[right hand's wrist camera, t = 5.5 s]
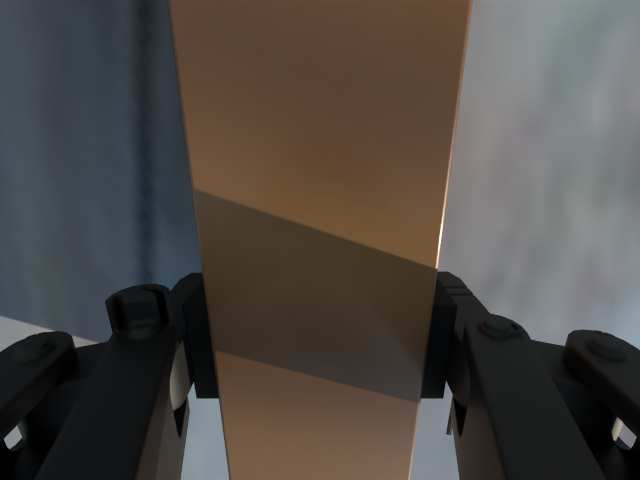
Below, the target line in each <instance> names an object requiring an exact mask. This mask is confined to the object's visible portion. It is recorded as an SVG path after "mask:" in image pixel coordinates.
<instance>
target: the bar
mask: <svg viewBox="0 0 640 480" xmlns="http://www.w3.org/2000/svg"><path fill="white" fill-rule="evenodd" d="M472 2H473V0H167V5H168V12H169V20H170V28H171V35H172V43H173V51H174V58H175V66H176V74H177V81H178V89H179V97H180V104H181V112H182V120H183V127H184V135H185V143H186V150H187V158H188V166H189V173H190V181H191V189H192V196H193V204H194V212H195V219H196V227H197V235H198V242H199V250H200V258H201V265H202V273H203V280H204V288H205V296H206V303H207V311H208V319H209V326H210V334H211V342H212V349H213V357H214V365H215V372H216V380H217V388H218V395H219V403H220V411H221V418H222V426H223V434H224V441H225V449H226V457H227V464H228V472H229V480H410V477H411V469H412V461H413V454H414V446H415V438H416V431H417V423H418V416H419V408H420V400H421V393H422V385H423V377H424V370H425V362H426V354H427V347H428V339H429V331H430V324H431V316H432V308H433V301H434V293H435V285H436V278H437V270H438V262H439V255H440V247H441V239H442V232H443V224H444V217H445V209H446V201H447V194H448V186H449V178H450V171H451V163H452V155H453V148H454V140H455V132H456V125H457V117H458V109H459V102H460V94H461V86H462V79H463V71H464V63H465V56H466V48H467V40H468V33H469V25H470V18H471V10H472Z"/></svg>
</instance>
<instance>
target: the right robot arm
mask: <svg viewBox="0 0 640 480" xmlns="http://www.w3.org/2000/svg"><path fill="white" fill-rule="evenodd" d="M105 304H106V308H107V312H108V316H109V320H110V324H111V328H112V332H113V334H112V336H111V338H110V339H109V341H108V342H104V343H99V344H93V345H88V346H83V347H77V348H75V345H74V341H73V338H72V336H71V335H70V334H68V333H67V332H60V331H54V332H43V333H38V334H37V335H36V334H34V335H31V336H28V337H26V338H25V339H23V340H20V341H18V342H16V343H14V344H12V345H11V346H9V347H7V348H6V349H4V350H3V351H1V352H0V480H180V479H181V472H182V464H183V457H184V449H185V442H186V435H187V427H188V420H189V413H190V410H189V403H188V397H187V395H188V393H189V391H190V389H191V387H192V384H193V382H194V385H195V391H196V397H197V398H219V395H218V388H217V380H216V372H215V365H214V357H213V349H212V342H211V334H210V326H209V319H208V311H207V303H206V296H205V288H204V280H203V273H191V274H189V275H187V276H186V277H184V278H182V279H180V280H179V281H178V283H177V284H176V285H175V286H174V287H173V290H171V291H170V292H169V289H168V288H167V287H165V286H163V285H158V284H143V285H138V286H132V287H129V288H126V289H123V290H120V291H119V292H117V293H115V294H113V295H111V296H110V297H109V298H108V299H107V300H106V301H105ZM446 381H447V383H448V385H449V387H450V390H451V392H452V394H453V397H452V403H451V408H450V414H449V420H448V426H447V433H446V434H448V435H451V433H452V428H453V434H454V441H455V449H456V456H457V463H458V471H459V478H460V480H640V350H639V349H637V348H636V347H634V346H633V345H631V344H629V343H628V342H626V341H624V340H622V339H619V338H617V337H615V336H613V335H611V334H608V333H605V332H604V333H602V332H601V331H596V330H594V331H592V330H575V331H572V332H571V333H570V334H568V337H567V340H566V344H565V346H561V345H555V344H550V343H545V342H539V341H535V340H531V339H530V337H529V335H528V333H527V332H526V331H525V330H524V329H523V327H522V326H520V325H519V324H517V323H516V322H514V321H513V320H510V319H508V318H505V317H502V316H499V315H494V314H490V313H489V312H488V311H487V309H486V308H485V307H484V306H483V305H482V304H481V302H480V301H479V300H478V299H477V298H476V297H475V296H473V293H472V292H471V291H470V290H469V289H467V286H466V285H465V284H464V283H463V281H462V280H461V279H460V278H458V277H456V276H455V275H453V274H451V273H449V272H437V278H436V285H435V293H434V301H433V308H432V316H431V324H430V331H429V339H428V347H427V354H426V362H425V370H424V377H423V385H422V393H421V398H443V396H444V389H445V383H446ZM623 423H624V424H625V425H626V426H627V427H628V428H629V429H630V430H631V431H632V432H633V433H634V434H635V435H636V436H637V438H636V440H635V443H634V445H633V447H632V448H630V447H629V446H627V445H626V444H625V443H624V442H623V441H622V440H621V439H620V438H619V437H618V435H619V432H620V430H621V427H622V425H623ZM16 426H18V428H19V431H20V433H21V435H22V438H21V440H20V441H19V442H18V443H17V444H16V445H15V446H13V447H12V448H11V449H8V448H7V446H6V443H5V441H4V438H5V437H6V436H7V435H8V434H9V433H10V432H11V431H12V430H13V429H14V428H15V427H16Z"/></svg>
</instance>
